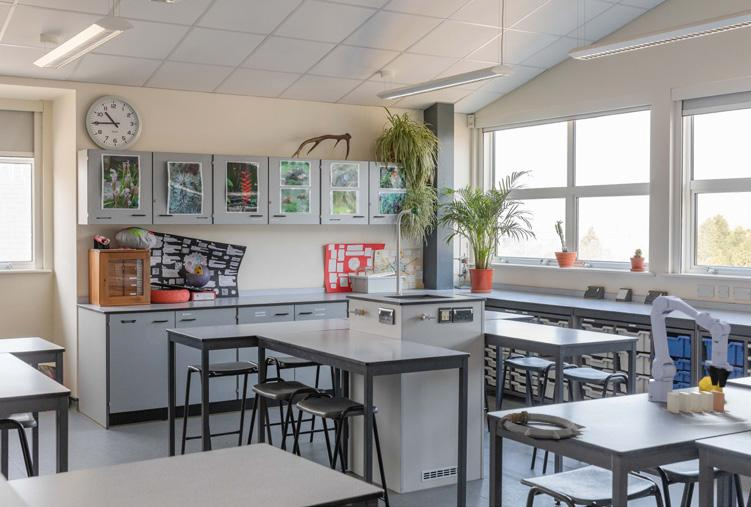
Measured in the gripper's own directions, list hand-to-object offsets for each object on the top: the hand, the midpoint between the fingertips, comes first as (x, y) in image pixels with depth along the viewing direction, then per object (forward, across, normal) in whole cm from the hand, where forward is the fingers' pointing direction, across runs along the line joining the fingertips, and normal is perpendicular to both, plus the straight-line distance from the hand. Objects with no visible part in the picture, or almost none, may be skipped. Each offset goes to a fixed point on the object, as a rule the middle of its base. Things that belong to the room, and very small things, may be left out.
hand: (718, 386), depth 331 cm
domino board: (+10, 0, +10) cm, 14 cm away
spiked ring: (+10, -20, +85) cm, 88 cm away
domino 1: (+9, 0, +20) cm, 22 cm away
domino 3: (+9, 0, +10) cm, 14 cm away
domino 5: (+9, 0, 0) cm, 9 cm away
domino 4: (+9, 0, +5) cm, 11 cm away
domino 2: (+9, 0, +15) cm, 18 cm away
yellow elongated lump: (+10, +23, -13) cm, 28 cm away
